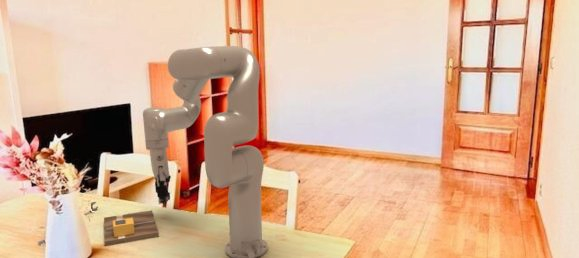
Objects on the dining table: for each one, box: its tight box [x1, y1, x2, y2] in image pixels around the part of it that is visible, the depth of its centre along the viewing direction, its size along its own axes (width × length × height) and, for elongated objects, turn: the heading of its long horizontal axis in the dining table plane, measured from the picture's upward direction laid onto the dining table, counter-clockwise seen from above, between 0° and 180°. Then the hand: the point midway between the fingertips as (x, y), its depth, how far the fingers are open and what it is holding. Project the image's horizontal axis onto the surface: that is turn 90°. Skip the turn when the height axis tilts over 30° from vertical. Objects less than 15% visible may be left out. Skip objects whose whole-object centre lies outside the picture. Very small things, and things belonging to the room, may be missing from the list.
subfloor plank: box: [103, 209, 160, 247], centre depth 145 cm, size 20×16×2 cm
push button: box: [154, 174, 172, 205], centre depth 152 cm, size 7×5×10 cm
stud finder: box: [113, 218, 135, 237], centre depth 138 cm, size 5×6×4 cm
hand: (161, 193), depth 153 cm, fingers closed on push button, 4 cm apart
